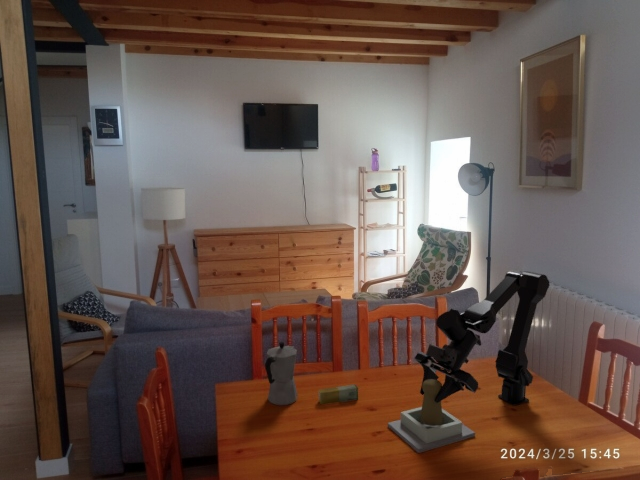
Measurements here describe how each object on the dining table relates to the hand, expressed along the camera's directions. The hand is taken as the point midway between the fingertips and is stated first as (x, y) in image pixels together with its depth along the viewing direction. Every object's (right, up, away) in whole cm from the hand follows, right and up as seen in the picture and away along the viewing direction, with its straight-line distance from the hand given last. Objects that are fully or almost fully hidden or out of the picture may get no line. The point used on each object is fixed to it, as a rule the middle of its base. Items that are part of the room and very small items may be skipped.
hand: (428, 398), depth 129 cm
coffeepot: (-40, -7, +20) cm, 46 cm away
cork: (+1, -7, +2) cm, 7 cm away
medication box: (-23, -7, +20) cm, 31 cm away
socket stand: (+1, -9, +2) cm, 10 cm away
